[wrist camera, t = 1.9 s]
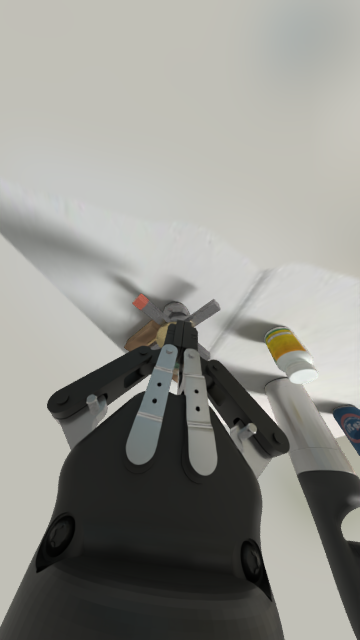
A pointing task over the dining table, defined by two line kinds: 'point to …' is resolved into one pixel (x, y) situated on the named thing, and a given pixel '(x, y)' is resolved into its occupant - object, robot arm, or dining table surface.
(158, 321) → the capstan
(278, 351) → the supplement bottle
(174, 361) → the robot arm
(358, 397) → the dining table surface
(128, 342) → the stand
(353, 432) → the soda can
